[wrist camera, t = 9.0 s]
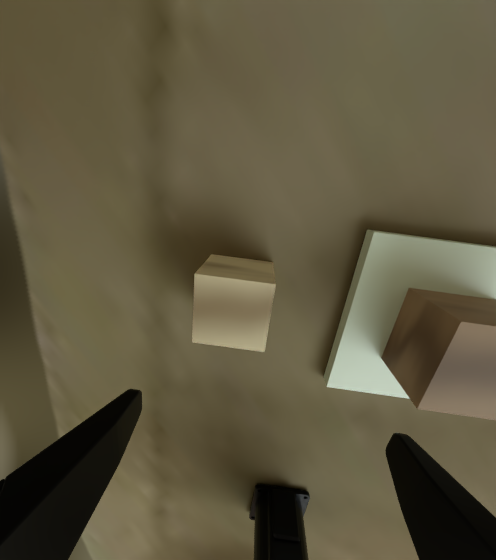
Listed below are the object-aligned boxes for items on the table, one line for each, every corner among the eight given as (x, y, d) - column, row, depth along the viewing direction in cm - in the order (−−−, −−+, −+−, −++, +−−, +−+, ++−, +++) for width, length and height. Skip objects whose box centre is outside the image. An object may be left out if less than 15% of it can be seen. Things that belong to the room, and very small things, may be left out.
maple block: (264, 316, 21) (264, 352, 16) (208, 308, 21) (192, 342, 16) (272, 261, 19) (275, 284, 14) (211, 253, 19) (194, 273, 14)
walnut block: (458, 369, 20) (518, 423, 15) (381, 358, 20) (417, 408, 15) (496, 299, 18) (580, 338, 13) (408, 287, 18) (461, 321, 13)
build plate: (471, 398, 22) (482, 409, 21) (323, 377, 22) (326, 386, 21) (557, 254, 17) (577, 258, 16) (367, 229, 18) (374, 231, 16)
